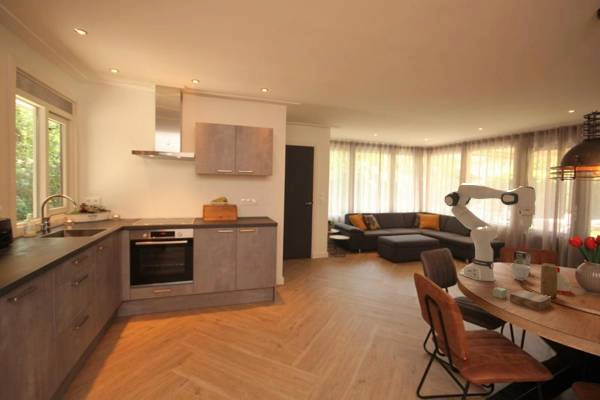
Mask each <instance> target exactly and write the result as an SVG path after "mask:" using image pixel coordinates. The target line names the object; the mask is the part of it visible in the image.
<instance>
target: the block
mask: <svg viewBox="0 0 600 400" xmlns="http://www.w3.org/2000/svg"><path fill="white" fill-rule="evenodd" d="M557 267H558V266H557V265H556V264H554V263H546V262H545V263H541V269H540V295H541V294H543V295H547V296H551V297H556V298H557V296H558V293H557Z"/></svg>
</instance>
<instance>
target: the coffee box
mask: <svg viewBox="0 0 600 400" xmlns="http://www.w3.org/2000/svg"><path fill="white" fill-rule="evenodd" d="M531 257H532V253H531V252H526V251H521V250H515V251H513V263H514V264H521V265H526V266H529V267H531V263H532V262H531V259H532V258H531ZM530 273H531V268H530V269H529V274H530Z"/></svg>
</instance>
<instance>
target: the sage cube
mask: <svg viewBox="0 0 600 400" xmlns="http://www.w3.org/2000/svg"><path fill="white" fill-rule="evenodd" d="M492 290H493V291H492V297H496V298H499V299H502V298H503V299H505V298H507V292H508V291H507V288H503V287H500V286H495V287H494V288H493V289H492Z"/></svg>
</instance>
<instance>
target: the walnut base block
mask: <svg viewBox="0 0 600 400" xmlns="http://www.w3.org/2000/svg"><path fill="white" fill-rule="evenodd" d="M509 297H510V299H509V300H510V301H509V302H510V303H514V304H518V305H520V306H523V307H527V308H530V309H532V310H537V311H541V310H544V309H546V308H549V307H550V306H552V298H550V297H547V296H543V295H541V294H538V293H536V292H531V291H528V290H524V289H521V290H518V291H514V292H511V293H510V296H509Z"/></svg>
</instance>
